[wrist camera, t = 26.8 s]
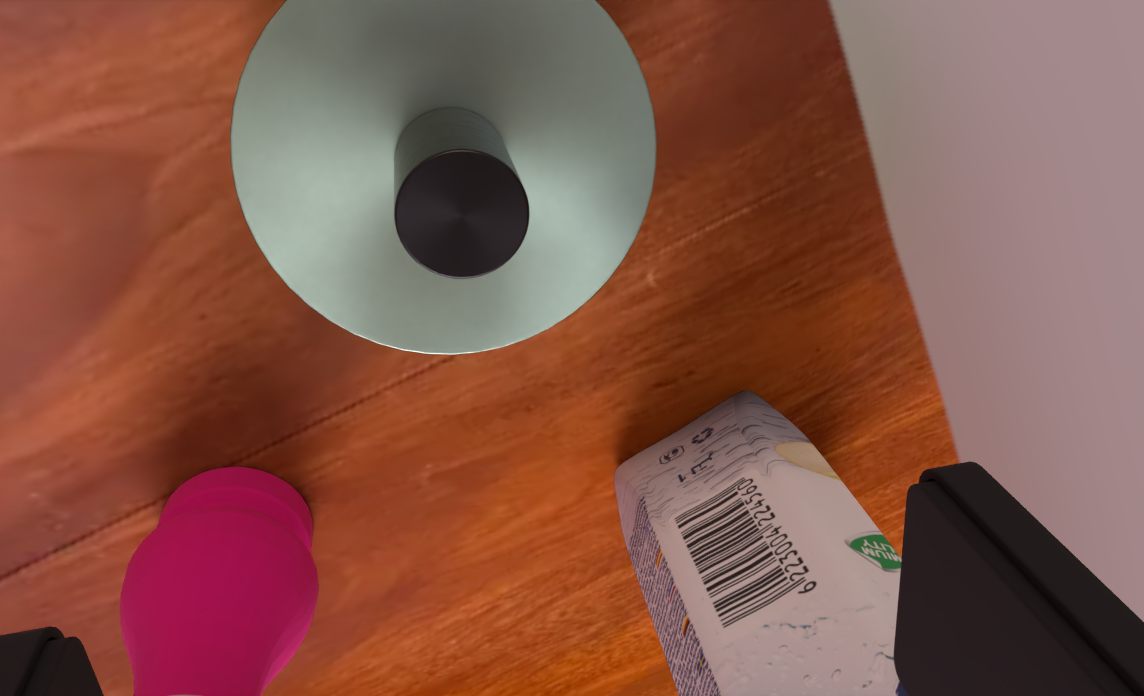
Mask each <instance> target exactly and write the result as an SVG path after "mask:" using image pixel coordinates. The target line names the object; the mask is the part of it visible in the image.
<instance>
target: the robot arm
mask: <svg viewBox="0 0 1144 696" xmlns="http://www.w3.org/2000/svg"><path fill="white" fill-rule="evenodd" d="M894 665H895V670H896V673H897V676H898V679H899V681H900V683H901V685H902V687H903V689H904V690H905V692H906V693H907V695H908V696H1144V622H1142V620H1141V619H1140V618H1139V617H1138V616H1137V615H1136V614H1135V613H1133V612H1132V611H1131V610H1130V609H1129V608H1128V607H1127V606H1126V605H1125V604H1124V603H1123V602H1122V601H1121V600H1120V599H1119V598H1118V597H1117V596H1116V595H1115V594H1113V592H1112V591H1111V590H1110V589H1108V588H1107V587H1106V586H1105V585H1104V584H1103V583H1102V582H1101V581H1100V580H1099V579H1098V578H1097V577H1096V576H1095V575H1094V574H1093V573H1092V572H1091V571H1090V570H1089V569H1088V568H1086V566H1085V565H1084V564H1082V563H1081V562H1080V561H1079V560H1078V559H1077V558H1076V557H1075V556H1074V555H1073V554H1072V553H1071V552H1070V551H1069V550H1068V549H1067V548H1066V547H1065V546H1064V545H1063V544H1061V543H1060V542H1059V540H1058V539H1056V538H1055V537H1054V536H1053V535H1052V534H1051V533H1050V532H1049V531H1048V530H1047V529H1046V528H1045V527H1044V526H1043V525H1042V524H1041V523H1040V522H1039V521H1038V520H1036V518H1035V517H1033V515H1031V514H1030V513H1029V512H1028V511H1027V510H1026V509H1025V508H1024V507H1023V506H1022V505H1021V504H1020V503H1019V502H1018V501H1017V500H1016V499H1015V498H1014V497H1012V495H1011V494H1009V492H1008V491H1007V490H1005V489H1004V488H1003V487H1002V486H1001V485H1000V484H999V483H998V482H997V481H996V480H995V479H994V478H993V477H992V476H991V475H990V474H989V473H988V472H987V471H986V470H985V469H983V467H981V466H980V465H978V464H977V463H974V462H966V463H960V464H954V465H948V466H943V467H937V468H932V469H927V470H925V471H923V473H922V474H921V476H920V479H919V484H914V485H912V486H910V488H909V490H908V493H907V501H906V513H905V525H904V537H903V548H902V560H901V572H900V583H899V595H898V607H897V619H896V630H895V642H894ZM0 696H104V695H103V693H102V690H101V688H100V685H99V683H98V681H97V678H96V676H95V673H94V671H93V668H92V666H91V663H90V661H89V659H88V656H87V654H86V651H85V649H84V646H83V645H82V643H81V641H80V640H79V639H78V638H77V637H68V638H64V636H63V634H62V632H61V631H60V630H59V629H58V628H56V627H45V628H40V629H34V630H28V631H23V632H17V633H12V634H6V635H1V636H0Z"/></svg>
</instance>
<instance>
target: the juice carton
mask: <svg viewBox="0 0 1144 696" xmlns="http://www.w3.org/2000/svg"><path fill="white" fill-rule="evenodd" d="M614 482H615V489H616V496H617V502H618V508H619V514H620V520H621V525H622V530H623V535H624V539H625V542H626V546H627V549H628V552H629V555H630V558H631V561H632V564H633V567H634V570H635V573H636V576H637V579H638V581H639V584H640V587H641V590H642V593H643V596H644V598H645V601H646V604H647V607H648V610H649V612H650V615H651V618H652V621H653V624H654V626H655V629H656V632H657V635H658V637H659V640H660V643H661V646H662V649H663V651H664V654H665V657H666V660H667V663H668V665H669V668H670V671H671V674H672V676H673V679H674V682H675V685H676V688H677V690H678V693H679V696H908V695H907V693H906V692H905V690H904V689H903V687H902V685H901V683H900V681H899V679H898V676H897V673H896V670H895V665H894V642H895V630H896V619H897V607H898V595H899V583H900V572H901V560H902V559H901V558H900V556H899V555H898V554H897V552H896V551H895V550H894V548H893V547H892V546H891V545H890V543H889V542H888V541H887V539H886V538H885V537H884V535H883V534H882V533H881V532H880V530H879V529H878V528H877V526H876V525H875V524H874V522H873V521H872V520H871V518H870V517H869V516H868V515H867V513H866V512H865V511H864V509H863V508H862V507H861V505H860V504H859V503H858V502H857V500H856V499H855V498H854V496H853V495H852V494H851V492H850V491H849V490H848V489H847V487H846V486H845V485H844V483H843V482H842V481H841V480H840V478H839V477H838V476H837V474H836V473H835V472H834V470H833V469H832V468H831V467H830V465H829V464H828V463H827V461H826V460H825V459H824V458H823V456H822V455H821V454H820V453H819V451H818V450H817V449H816V448H815V446H814V445H813V444H812V443H811V442H810V441H809V439H808V438H807V437H806V436H805V435H804V434H803V433H802V432H801V431H800V430H799V429H798V428H797V427H796V426H795V425H794V424H792V423H791V422H790V421H789V420H788V419H787V418H785V417H784V416H783V415H782V414H781V413H779V412H778V411H777V410H776V409H775V408H773V407H772V406H771V405H770V404H768V403H767V402H766V401H765V400H763V399H762V398H761V397H759V396H758V395H757V394H755V393H754V392H752V391H748V390H745V391H741V392H739V393H737V394H735V395H733V396H732V397H730V398H728V399H727V400H725V401H723V402H722V403H720V404H718V405H717V406H715V407H714V408H712V409H711V410H709V411H708V412H706V413H705V414H703V415H702V416H700V417H699V418H697V419H696V420H694V421H692V422H691V423H689V424H688V425H686V426H685V427H683V428H681V429H680V430H678V431H676V432H675V433H673V434H671V435H669V436H668V437H666V438H664V439H662V440H661V441H659V442H657V443H655V444H653V445H652V446H650V447H648V448H646V449H645V450H643V451H641V452H639V453H638V454H636V455H634V456H633V457H631V458H630V459H628V460H626V461H625V462H624V463H622V464H621V465H619V466H618V468H617V469H616V470H615V474H614Z"/></svg>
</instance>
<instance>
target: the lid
mask: <svg viewBox="0 0 1144 696" xmlns="http://www.w3.org/2000/svg"><path fill="white" fill-rule="evenodd" d="M656 147H657V136H656V127H655V118H654V110H653V106H652V102H651V98H650V94H649V90H648V86H647V83H646V80H645V78H644V75H643V73H642V70H641V68H640V65H639V62H638V60H637V58H636V56H635V54H634V52H633V50H632V49H631V47H630V45H629V43H628V41H627V40H626V38H625V36H624V34H623V33H622V31H621V30H620V29H619V27H618V26H617V25H616V23H615V22H614V21H613V19H612V18H611V17H610V15H609V14H608V13H607V11H606V10H605V9H604V8H603V7H602V6H601V5H600V4H599V3H598V2H597V1H596V0H286V1H285V2H284V3H283V4H282V6H281V7H280V8H279V9H278V11H277V12H276V13H275V14H274V16H273V17H272V18H271V19H270V21H269V22H268V23H267V24H266V26H265V28H264V29H263V31H262V33H261V34H260V36H259V38H258V40H257V41H256V43H255V45H254V46H253V48H252V50H251V52H250V54H249V57H248V59H247V62H246V64H245V67H244V69H243V71H242V74H241V76H240V79H239V83H238V87H237V92H236V96H235V100H234V104H233V110H232V119H231V129H230V151H231V167H232V172H233V178H234V184H235V189H236V193H237V197H238V200H239V203H240V206H241V209H242V212H243V215H244V218H245V220H246V223H247V225H248V227H249V229H250V231H251V233H252V235H253V237H254V240H255V242H256V244H257V245H258V247H259V248H260V250H261V251H262V253H263V255H264V256H265V258H266V259H267V261H268V262H269V264H270V265H271V267H272V268H273V269H274V270H275V272H276V273H277V274H278V275H279V276H280V278H281V279H282V280H283V281H284V282H285V283H286V285H287V286H288V287H289V288H290V289H291V290H292V291H293V292H294V293H295V294H297V295H298V296H299V297H300V298H301V299H302V300H303V301H304V302H305V303H306V304H307V305H308V306H310V307H311V308H313V309H314V310H315V311H317V312H318V313H320V314H321V315H322V316H324V317H325V318H326V319H328V320H329V321H331V322H333V323H335V324H336V325H338V326H340V327H342V328H344V329H345V330H347V331H349V332H351V333H353V334H355V335H358V336H360V337H363V338H365V339H368V340H370V341H373V342H375V343H378V344H381V345H385V346H389V347H392V348H396V349H400V350H405V351H411V352H418V353H425V354H450V355H454V354H465V353H476V352H482V351H487V350H492V349H496V348H501V347H505V346H508V345H511V344H514V343H517V342H520V341H523V340H526V339H528V338H530V337H532V336H534V335H537V334H539V333H541V332H543V331H545V330H547V329H549V328H551V327H552V326H554V325H556V324H557V323H559V322H560V321H562V320H563V319H565V318H567V317H568V316H570V315H571V314H572V313H574V312H575V311H576V310H577V309H579V308H580V307H581V306H582V305H584V304H585V303H586V302H587V301H588V300H590V299H591V298H592V297H593V296H594V295H595V294H596V293H597V291H598V290H599V289H600V288H601V287H602V286H603V285H604V284H605V283H606V282H607V281H608V280H609V278H610V277H611V276H612V275H613V273H614V272H615V271H616V269H617V268H618V267H619V265H620V264H621V263H622V261H623V260H624V258H625V256H626V254H627V253H628V251H629V249H630V247H631V246H632V244H633V242H634V241H635V239H636V236H637V234H638V232H639V229H640V227H641V225H642V222H643V220H644V217H645V215H646V211H647V208H648V204H649V201H650V197H651V193H652V190H653V183H654V176H655V169H656Z"/></svg>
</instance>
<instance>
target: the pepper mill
mask: <svg viewBox="0 0 1144 696" xmlns="http://www.w3.org/2000/svg"><path fill="white" fill-rule="evenodd" d="M312 537H313V523H312V516H311V513H310V510H309V508H308V506H307V504H306V502H305V501H304V500H303V498H302V497H301V495H300V494H299V493H298V492H297V491H296V490H295V489H294V488H293V487H292V486H291V485H290V484H288V483H287V482H285V481H283V480H282V479H280V478H279V477H277V476H274V475H272V474H270V473H267V472H265V471H262V470H257V469H252V468H246V467H225V468H217V469H213V470H210V471H206V472H203V473H201V474H198V475H196V476H194V477H192V478H191V479H189V480H187V481H186V482H185V483H183V484H182V485H181V486H179V487H178V488H177V489H176V491H175V492H174V493H173V494H172V495H171V496H170V498H169V500H168V501H167V503H166V505H165V507H164V509H163V512H162V514H161V517H160V520H159V523H158V525H157V528H156V529H155V530H154V531H153V532H152V533H151V534H150V535H149V536H148V537H147V538H145V539H144V540H143V541H142V543H141V544H140V546H139V547H138V548H137V550H136V551H135V553H134V554H133V556H132V558H131V560H130V562H129V564H128V568H127V571H126V575H125V579H124V583H123V587H122V592H121V598H120V616H121V628H122V636H123V640H124V643H125V646H126V649H127V653H128V656H129V659H130V663H131V666H132V669H133V674H134V695H133V696H261V694H262V693H263V691H264V689H265V688H266V687H267V685H268V684H269V683H270V682H271V681H272V680H273V679H274V678H275V676H276V675H277V674H278V673H279V672H280V671H281V670H282V669H283V667H284V666H285V665H286V664H287V663H288V662H289V661H290V660H291V658H292V657H293V655H294V654H295V652H296V651H297V649H298V648H299V646H300V644H301V643H302V641H303V639H304V637H305V636H306V634H307V632H308V629H309V627H310V624H311V622H312V619H313V615H314V611H315V607H316V603H317V598H318V591H319V587H318V575H317V569H316V566H315V563H314V561H313V558H312V555H311V545H312Z"/></svg>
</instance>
